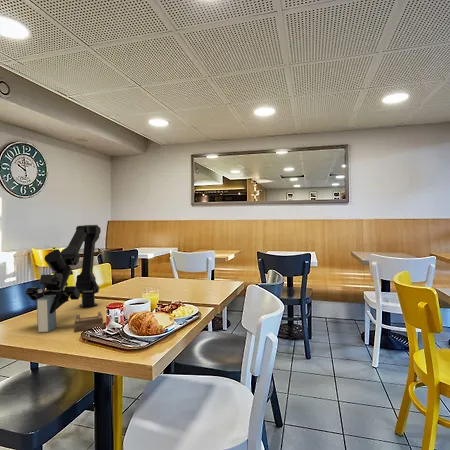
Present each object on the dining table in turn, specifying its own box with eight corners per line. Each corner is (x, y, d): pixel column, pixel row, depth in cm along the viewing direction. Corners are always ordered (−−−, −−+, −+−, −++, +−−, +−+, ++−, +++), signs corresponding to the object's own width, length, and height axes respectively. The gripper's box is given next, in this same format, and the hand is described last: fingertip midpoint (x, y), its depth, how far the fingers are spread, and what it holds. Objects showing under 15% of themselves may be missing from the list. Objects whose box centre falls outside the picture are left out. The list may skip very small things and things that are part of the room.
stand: (75, 322, 123) (75, 313, 122) (102, 318, 127) (102, 310, 127) (74, 332, 112) (73, 322, 112) (103, 327, 116) (103, 318, 116)
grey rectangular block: (46, 327, 117) (45, 296, 117) (56, 327, 117) (55, 296, 117) (37, 332, 112) (36, 299, 112) (48, 332, 112) (47, 299, 112)
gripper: (27, 266, 119) (7, 302, 108) (75, 265, 118) (60, 301, 107) (40, 282, 127) (23, 318, 116) (85, 281, 126) (72, 316, 115)
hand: (44, 313), depth 113 cm, fingers closed on grey rectangular block, 4 cm apart
